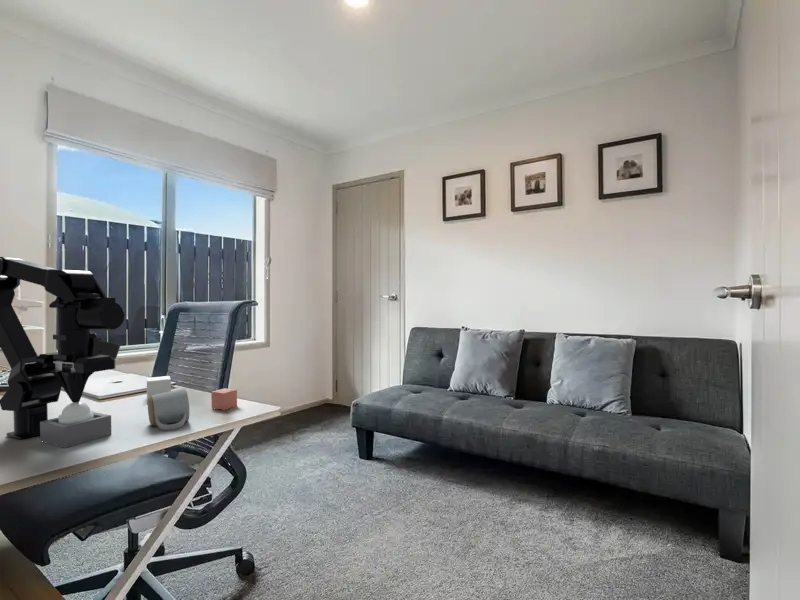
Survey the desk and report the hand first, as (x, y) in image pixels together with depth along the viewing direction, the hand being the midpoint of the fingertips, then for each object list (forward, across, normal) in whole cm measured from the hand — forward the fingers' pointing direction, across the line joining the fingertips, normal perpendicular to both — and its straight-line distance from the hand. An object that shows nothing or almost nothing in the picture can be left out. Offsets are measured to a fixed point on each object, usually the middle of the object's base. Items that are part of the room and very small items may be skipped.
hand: (75, 401), depth 92 cm
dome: (+5, 0, 0) cm, 5 cm away
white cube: (+8, +16, -30) cm, 36 cm away
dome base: (+8, 0, 0) cm, 8 cm away
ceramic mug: (+8, -10, -15) cm, 20 cm away
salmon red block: (+8, -10, -31) cm, 33 cm away
